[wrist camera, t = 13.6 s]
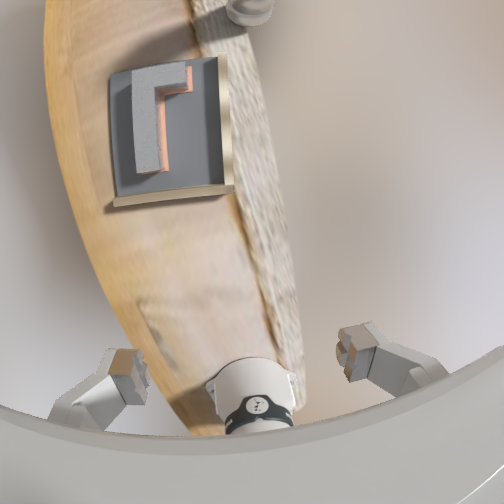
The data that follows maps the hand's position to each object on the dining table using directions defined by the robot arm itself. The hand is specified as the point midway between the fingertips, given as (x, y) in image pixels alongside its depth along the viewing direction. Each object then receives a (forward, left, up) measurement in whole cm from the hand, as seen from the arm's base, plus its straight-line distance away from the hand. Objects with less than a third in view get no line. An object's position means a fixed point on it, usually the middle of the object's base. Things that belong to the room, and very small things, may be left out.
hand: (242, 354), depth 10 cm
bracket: (+13, +7, -30) cm, 34 cm away
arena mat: (+12, +7, -31) cm, 34 cm away
